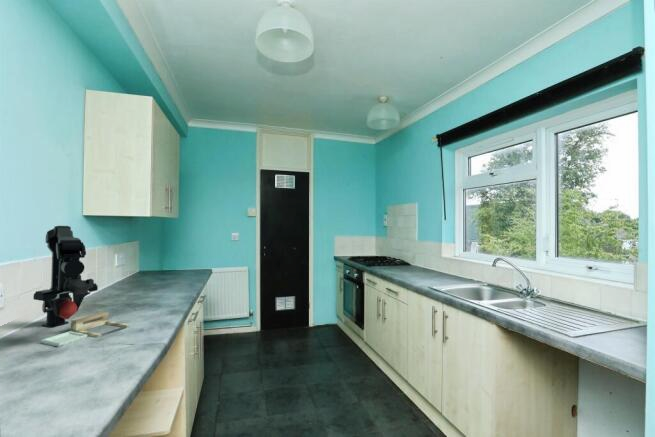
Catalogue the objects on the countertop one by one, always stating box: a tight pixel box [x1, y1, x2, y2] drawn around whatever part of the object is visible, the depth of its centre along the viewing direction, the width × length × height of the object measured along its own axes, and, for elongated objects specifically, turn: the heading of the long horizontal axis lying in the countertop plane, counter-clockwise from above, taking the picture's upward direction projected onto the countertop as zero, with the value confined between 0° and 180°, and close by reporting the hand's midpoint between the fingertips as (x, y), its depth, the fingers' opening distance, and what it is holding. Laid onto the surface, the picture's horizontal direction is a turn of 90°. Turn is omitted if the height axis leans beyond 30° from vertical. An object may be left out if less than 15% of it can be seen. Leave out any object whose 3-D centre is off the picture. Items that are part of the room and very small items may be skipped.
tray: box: [41, 330, 88, 348], centre depth 115 cm, size 10×10×1 cm
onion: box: [59, 298, 78, 320], centre depth 116 cm, size 6×6×8 cm
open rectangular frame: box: [70, 310, 130, 338], centre depth 128 cm, size 15×13×5 cm
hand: (66, 313), depth 116 cm, fingers closed on onion, 6 cm apart
